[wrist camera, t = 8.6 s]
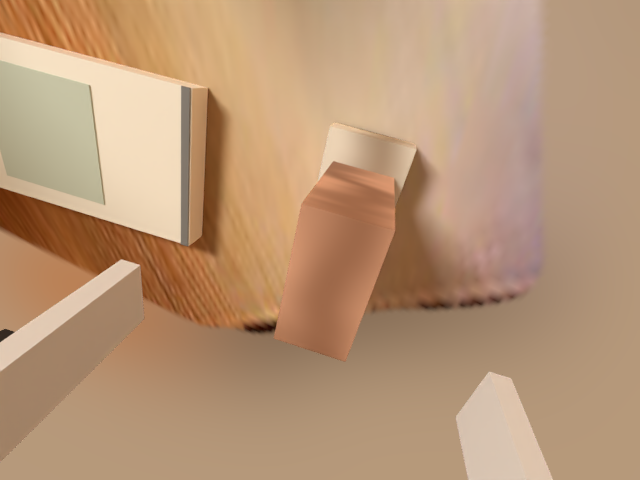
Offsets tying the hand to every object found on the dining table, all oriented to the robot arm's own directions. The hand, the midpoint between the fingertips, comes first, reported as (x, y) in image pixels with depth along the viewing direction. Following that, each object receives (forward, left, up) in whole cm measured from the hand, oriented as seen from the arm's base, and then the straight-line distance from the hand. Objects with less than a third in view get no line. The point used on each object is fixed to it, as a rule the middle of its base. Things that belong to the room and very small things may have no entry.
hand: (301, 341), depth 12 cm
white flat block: (-21, 0, -14) cm, 25 cm away
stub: (0, 0, -13) cm, 13 cm away
